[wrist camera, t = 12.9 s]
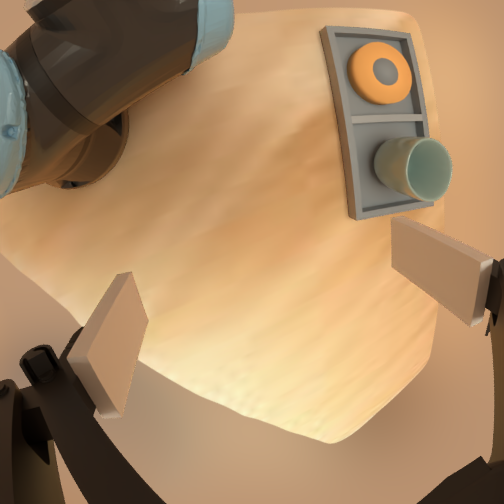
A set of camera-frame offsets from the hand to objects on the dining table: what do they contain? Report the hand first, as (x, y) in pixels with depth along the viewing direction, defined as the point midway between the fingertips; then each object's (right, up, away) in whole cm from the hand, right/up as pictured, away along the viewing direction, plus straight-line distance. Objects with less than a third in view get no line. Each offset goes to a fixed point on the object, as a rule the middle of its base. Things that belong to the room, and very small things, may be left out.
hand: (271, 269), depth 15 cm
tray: (+17, +20, +24) cm, 36 cm away
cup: (+19, +14, +26) cm, 35 cm away
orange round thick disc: (+16, +26, +22) cm, 37 cm away
